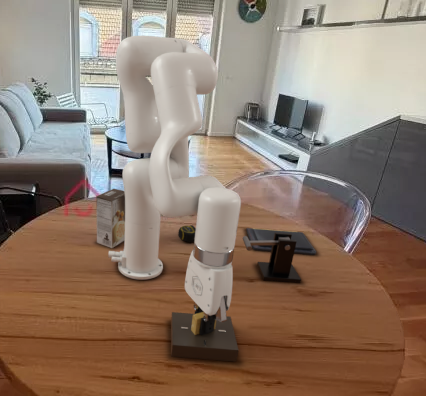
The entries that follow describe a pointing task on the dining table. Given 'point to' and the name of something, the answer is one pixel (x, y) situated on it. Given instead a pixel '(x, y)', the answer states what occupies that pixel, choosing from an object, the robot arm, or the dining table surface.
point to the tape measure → (187, 233)
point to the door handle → (260, 242)
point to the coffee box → (111, 218)
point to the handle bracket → (280, 261)
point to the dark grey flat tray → (266, 234)
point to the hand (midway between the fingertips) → (203, 328)
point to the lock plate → (202, 340)
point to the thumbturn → (197, 323)
